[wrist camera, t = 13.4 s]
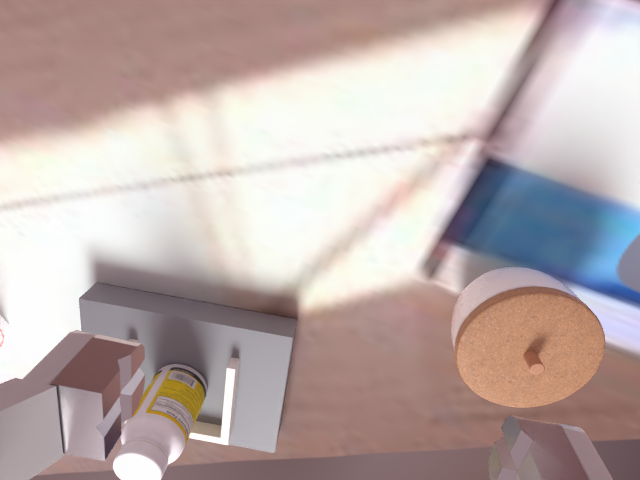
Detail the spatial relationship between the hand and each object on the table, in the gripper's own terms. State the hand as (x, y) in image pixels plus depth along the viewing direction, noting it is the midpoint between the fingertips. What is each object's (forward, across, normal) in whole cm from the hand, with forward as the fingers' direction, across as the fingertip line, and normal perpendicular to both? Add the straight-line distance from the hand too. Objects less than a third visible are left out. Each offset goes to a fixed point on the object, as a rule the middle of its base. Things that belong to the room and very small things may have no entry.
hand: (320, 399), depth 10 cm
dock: (+28, +12, +26) cm, 40 cm away
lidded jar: (+29, -16, +12) cm, 35 cm away
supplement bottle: (+26, +12, +26) cm, 38 cm away
